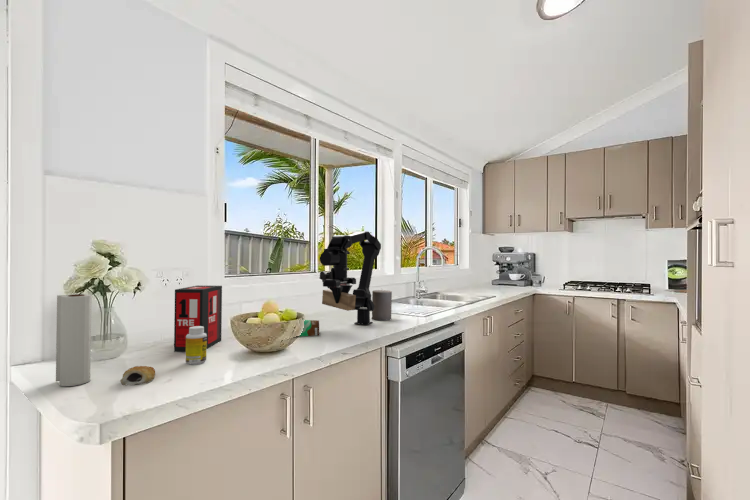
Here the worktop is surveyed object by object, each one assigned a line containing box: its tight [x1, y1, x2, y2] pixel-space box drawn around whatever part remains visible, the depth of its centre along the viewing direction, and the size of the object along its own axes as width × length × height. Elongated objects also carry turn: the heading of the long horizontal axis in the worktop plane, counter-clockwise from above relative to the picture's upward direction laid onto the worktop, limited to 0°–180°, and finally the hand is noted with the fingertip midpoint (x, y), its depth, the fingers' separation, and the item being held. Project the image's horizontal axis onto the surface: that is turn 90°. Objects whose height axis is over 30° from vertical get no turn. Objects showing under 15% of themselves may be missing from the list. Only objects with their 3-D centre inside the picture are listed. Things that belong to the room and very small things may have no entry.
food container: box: [299, 319, 320, 337], centre depth 159 cm, size 12×6×10 cm
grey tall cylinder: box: [55, 293, 92, 387], centre depth 97 cm, size 7×6×21 cm
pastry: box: [120, 365, 156, 386], centre depth 100 cm, size 9×7×4 cm
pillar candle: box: [371, 289, 393, 321], centre depth 196 cm, size 10×10×15 cm
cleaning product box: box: [173, 285, 223, 353], centre depth 136 cm, size 16×9×20 cm, turn 0°
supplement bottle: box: [185, 326, 208, 365], centre depth 116 cm, size 6×6×10 cm
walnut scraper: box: [321, 288, 356, 312], centre depth 167 cm, size 4×16×6 cm, turn 48°
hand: (340, 302), depth 167 cm, fingers closed on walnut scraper, 5 cm apart
